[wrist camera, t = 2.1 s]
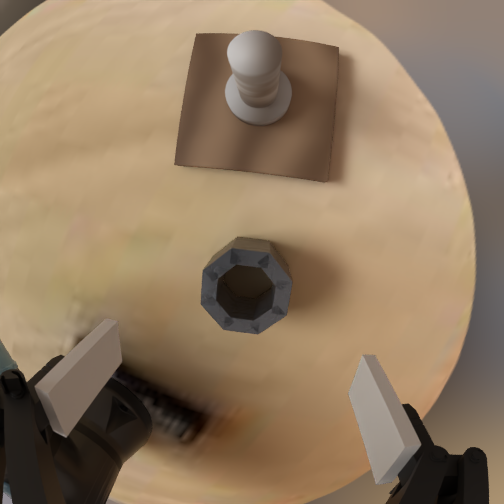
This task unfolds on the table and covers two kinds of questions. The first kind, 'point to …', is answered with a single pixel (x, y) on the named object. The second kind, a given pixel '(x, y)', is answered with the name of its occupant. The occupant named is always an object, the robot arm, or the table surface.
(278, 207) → the table surface
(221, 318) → the collar
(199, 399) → the table surface
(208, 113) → the shaft block
